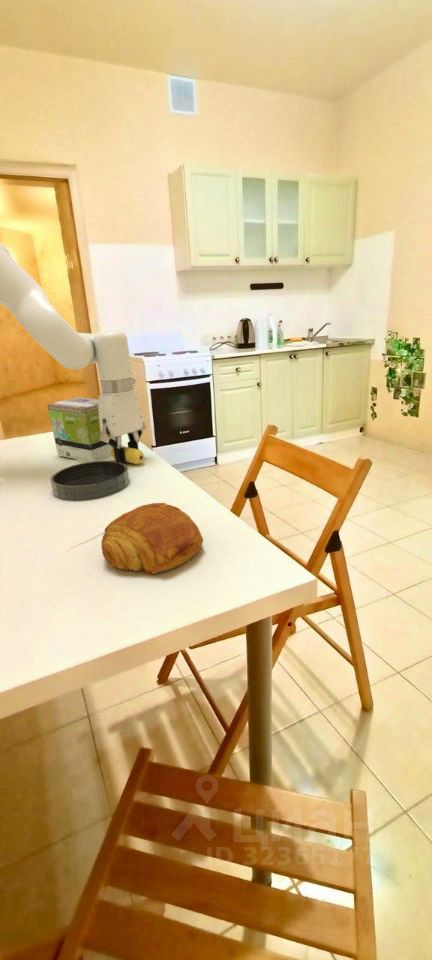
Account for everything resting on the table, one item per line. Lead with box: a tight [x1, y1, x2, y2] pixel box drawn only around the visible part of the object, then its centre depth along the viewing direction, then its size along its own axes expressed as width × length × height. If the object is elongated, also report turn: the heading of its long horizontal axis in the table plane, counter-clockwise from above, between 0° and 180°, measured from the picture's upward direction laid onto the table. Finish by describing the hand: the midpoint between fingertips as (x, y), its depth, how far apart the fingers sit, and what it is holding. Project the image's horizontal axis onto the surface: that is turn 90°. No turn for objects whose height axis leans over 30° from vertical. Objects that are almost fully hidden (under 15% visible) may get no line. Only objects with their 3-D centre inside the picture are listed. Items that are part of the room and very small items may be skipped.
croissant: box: [101, 502, 204, 575], centre depth 68 cm, size 14×16×8 cm
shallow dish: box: [49, 460, 131, 502], centre depth 97 cm, size 16×16×4 cm
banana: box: [111, 445, 145, 465], centre depth 111 cm, size 11×4×4 cm, turn 50°
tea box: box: [47, 396, 113, 463], centre depth 119 cm, size 15×10×15 cm, turn 55°
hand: (127, 459), depth 112 cm, fingers closed on banana, 3 cm apart
